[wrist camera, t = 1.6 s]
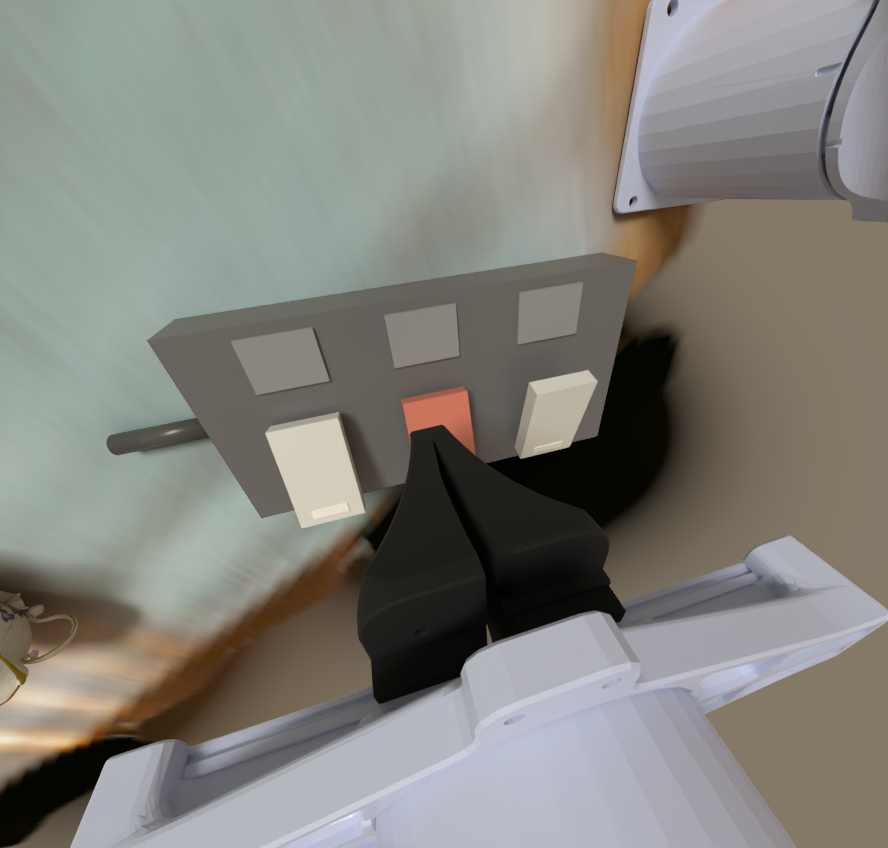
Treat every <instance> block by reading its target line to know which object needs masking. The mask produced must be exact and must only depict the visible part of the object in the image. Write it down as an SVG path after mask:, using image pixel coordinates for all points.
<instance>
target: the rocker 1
mask: <svg viewBox="0 0 888 848" xmlns="http://www.w3.org/2000/svg"><path fill="white" fill-rule="evenodd" d="M265 434H266V437H267V439H268V442H269V444H270V447H271V450H272V452H273V455H274V457H275V460H276V463H277V465H278V468H279V470H280V473H281V476H282V478H283V481H284V483H285V486H286V489H287V491H288V494H289V496H290V499H291V501H292V504H293V507H294V509H295V512H296V514H297V517H298V520H299V522H300V525H301V527H302V528H306V527H310V526H314V525H318V524H322V523H326V522H330V521H334V520H338V519H342V518H346V517H350V516H354V515H358V514H361V513H365V500H364V497H363V493H362V490H361V486H360V483H359V479H358V476H357V472H356V469H355V465H354V462H353V458H352V455H351V451H350V448H349V444H348V441H347V437H346V434H345V430H344V427H343V423H342V420H341V416H340V413H339V412H336V413H332V414H327V415H322V416H317V417H312V418H307V419H303V420H298V421H293V422H288V423H283V424H278V425H274V426H270V427H269V429H268V430H267V431H266V433H265Z"/></svg>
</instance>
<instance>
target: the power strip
mask: <svg viewBox="0 0 888 848" xmlns="http://www.w3.org/2000/svg"><path fill="white" fill-rule="evenodd" d="M636 262H637V261H636V260H632V259H627V258H623V257H619V256H614V255H610V254H605V253H597V254H591V255H584V256H578V257H572V258H565V259H559V260H552V261H546V262H540V263H533V264H527V265H520V266H514V267H508V268H501V269H495V270H488V271H482V272H476V273H469V274H463V275H456V276H450V277H444V278H437V279H431V280H424V281H418V282H412V283H405V284H399V285H392V286H386V287H380V288H373V289H367V290H360V291H354V292H348V293H341V294H335V295H328V296H322V297H316V298H309V299H303V300H296V301H290V302H284V303H277V304H271V305H264V306H258V307H252V308H245V309H239V310H233V311H226V312H220V313H213V314H207V315H201V316H194V317H188V318H181V319H175V320H174V321H172V322H171V323H170V324H168V325H167V326H166V327H164V328H163V329H162V330H160V331H159V332H158V333H156V334H155V335H154V336H152V337H151V338H150V339H148V340H147V341H148V343H149V344H150V346H151V347H152V349H153V350H154V352H155V354H156V355H157V357H158V358H159V360H160V361H161V363H162V364H163V366H164V368H165V369H166V371H167V372H168V374H169V375H170V377H171V378H172V380H173V382H174V383H175V385H176V386H177V388H178V389H179V391H180V392H181V394H182V395H183V397H184V399H185V400H186V402H187V403H188V405H189V406H190V408H191V409H192V411H193V413H194V414H195V416H196V417H197V418H194V419H189V420H184V421H179V422H174V423H169V424H164V425H159V426H154V427H149V428H144V429H139V430H133V431H128V432H123V433H118V434H113V435H110V436H109V437H108V439H107V447H108V449H109V450H110V452H111V453H113V454H115V455H122V454H126V453H131V452H136V451H141V450H146V449H151V448H156V447H160V446H165V445H170V444H175V443H180V442H185V441H189V440H194V439H199V438H204V437H210V439H211V440H212V442H213V444H214V445H215V447H216V448H217V450H218V451H219V453H220V454H221V456H222V458H223V459H224V461H225V462H226V464H227V465H228V467H229V468H230V470H231V472H232V473H233V475H234V476H235V478H236V479H237V481H238V482H239V484H240V485H241V487H242V489H243V490H244V492H245V493H246V495H247V496H248V498H249V499H250V501H251V503H252V504H253V506H254V507H255V509H256V510H257V512H258V513H259V515H260V517H261V518H264V517H268V516H272V515H276V514H280V513H284V512H289V511H293V510H295V509H294V507H293V504H292V501H291V499H290V496H289V494H288V491H287V489H286V486H285V483H284V481H283V478H282V476H281V473H280V470H279V468H278V465H277V463H276V460H275V457H274V455H273V452H272V450H271V447H270V444H269V442H268V439H267V437H266V434H265V433H266V431H267V430H268V429H269V427H270V426H274V425H278V424H283V423H288V422H293V421H298V420H303V419H307V418H312V417H317V416H322V415H327V414H332V413H336V412H339V413H340V416H341V420H342V423H343V427H344V430H345V434H346V437H347V441H348V444H349V448H350V451H351V455H352V458H353V462H354V465H355V469H356V472H357V476H358V479H359V483H360V486H361V490H362V493H366V492H370V491H374V490H379V489H383V488H387V487H391V486H395V485H399V484H403V483H405V481H406V477H407V472H408V467H409V460H410V450H411V446H410V441H409V436H408V431H407V426H406V422H405V417H404V412H403V407H402V402H401V399H404V398H409V397H414V396H418V395H423V394H428V393H433V392H438V391H443V390H447V389H452V388H457V387H462V386H463V387H464V388H465V389H466V390H467V392H468V400H469V408H470V415H471V423H472V431H473V439H474V447H475V455H476V456H477V457H478V458H479V459H481V460H482V461H483V462H485V463H489V462H493V461H497V460H501V459H505V458H509V457H513V456H518V453H517V451H516V449H515V444H516V439H517V435H518V430H519V426H520V421H521V416H522V412H523V407H524V403H525V398H526V394H527V389H528V385H529V382H534V381H538V380H543V379H548V378H553V377H557V376H562V375H567V374H571V373H576V372H581V371H586V370H589V372H590V373H591V374H592V375H593V376H594V378H595V379H596V380H597V381H598V382H597V385H596V387H595V389H594V391H593V394H592V396H591V398H590V401H589V403H588V405H587V408H586V410H585V412H584V415H583V417H582V419H581V422H580V424H579V426H578V429H577V431H576V433H575V435H574V438H573V440H572V442H575V441H579V440H583V439H587V438H591V437H595V436H597V434H598V430H599V425H600V421H601V416H602V412H603V408H604V403H605V399H606V394H607V390H608V386H609V381H610V377H611V372H612V368H613V364H614V359H615V355H616V350H617V346H618V342H619V337H620V333H621V328H622V324H623V319H624V315H625V311H626V306H627V302H628V298H629V293H630V289H631V284H632V280H633V276H634V271H635V267H636Z"/></svg>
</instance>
